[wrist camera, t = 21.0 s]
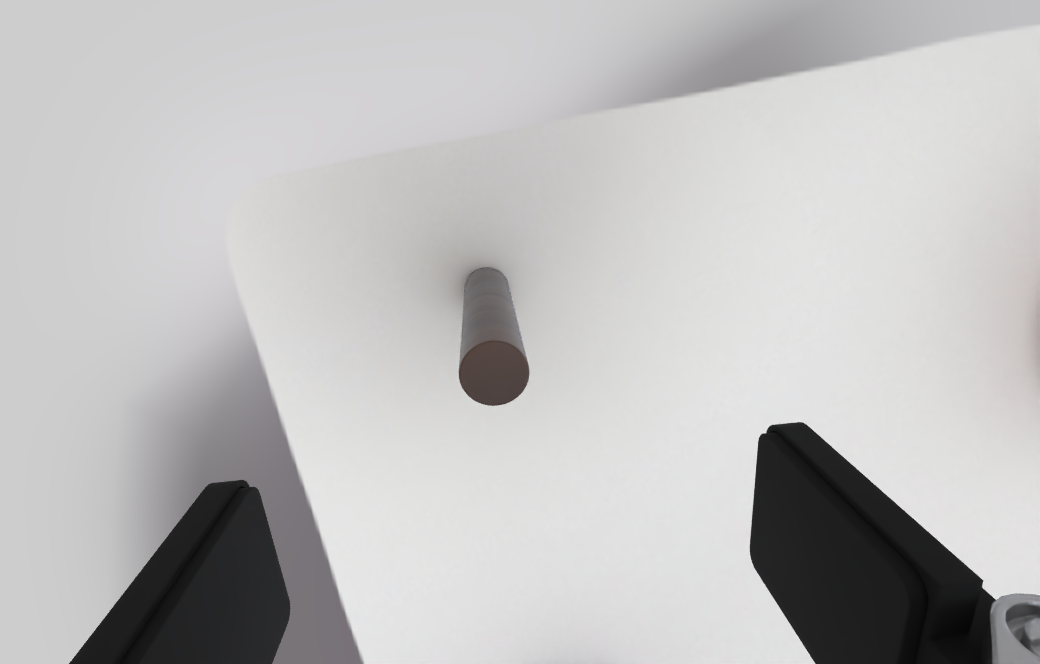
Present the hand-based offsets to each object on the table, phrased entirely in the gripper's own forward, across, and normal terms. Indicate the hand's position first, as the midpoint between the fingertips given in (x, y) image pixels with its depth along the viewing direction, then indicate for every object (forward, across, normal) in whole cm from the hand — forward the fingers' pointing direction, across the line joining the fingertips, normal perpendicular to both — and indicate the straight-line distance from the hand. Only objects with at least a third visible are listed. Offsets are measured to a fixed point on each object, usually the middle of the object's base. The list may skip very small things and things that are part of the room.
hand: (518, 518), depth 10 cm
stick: (+21, 0, +1) cm, 21 cm away
